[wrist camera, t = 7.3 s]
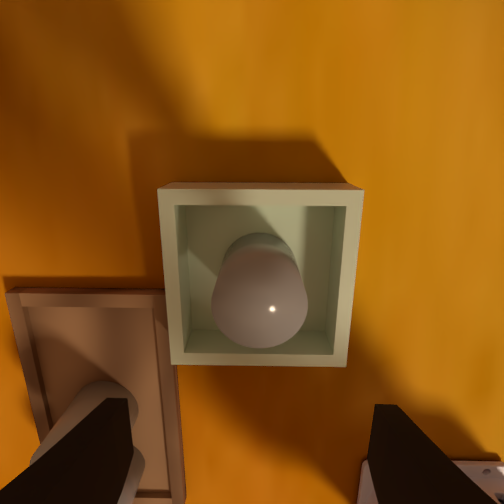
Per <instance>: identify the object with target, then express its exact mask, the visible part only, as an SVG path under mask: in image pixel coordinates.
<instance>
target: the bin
mask: <svg viewBox="0 0 504 504" xmlns="http://www.w3.org/2000/svg"><path fill="white" fill-rule="evenodd" d="M157 194H158V207H159V219H160V231H161V244H162V256H163V269H164V281H165V293H166V306H167V318H168V331H169V343H170V355H171V365H237V366H306V367H346V363H347V354H348V344H349V334H350V324H351V315H352V305H353V295H354V285H355V276H356V266H357V256H358V246H359V237H360V227H361V217H362V207H363V198H364V190H363V189H361V188H358V187H356V186H354V185H352V184H349V183H270V182H171V183H169V184H167V185H165V186H162V187H160V188H158V189H157ZM250 233H268V234H272V235H274V236H277V237H278V238H280V239H282V240H283V241H284V242H285V243H286V244H287V245H288V246H289V247H290V248H291V250H292V252H293V254H294V256H295V259H296V263H297V266H298V269H299V272H300V275H301V278H302V281H303V285H304V288H305V291H306V295H307V300H308V310H307V315H306V318H305V321H304V323H303V325H302V326H301V328H300V329H299V331H298V332H297V333H296V334H295V335H294V336H293V337H292V338H290V339H289V340H287V341H286V342H284V343H282V344H280V345H277V346H274V347H270V348H250V347H245V346H242V345H240V344H237V343H235V342H233V341H232V340H230V339H229V338H228V337H226V336H225V335H224V334H223V333H222V332H221V331H220V329H219V328H218V326H217V325H216V323H215V321H214V318H213V315H212V310H211V298H212V294H213V290H214V287H215V284H216V281H217V277H218V274H219V271H220V268H221V265H222V261H223V258H224V255H225V253H226V251H227V249H228V248H229V247H230V245H231V244H232V243H233V242H234V241H236V240H237V239H238V238H240V237H242V236H244V235H247V234H250Z"/></svg>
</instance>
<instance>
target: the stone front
mask: <svg viewBox="0 0 504 504" xmlns="http://www.w3.org/2000/svg"><path fill="white" fill-rule="evenodd" d="M211 310H212V315H213V318H214V321H215V323H216V325H217V326H218V328H219V329H220V331H221V332H222V333H223V334H224V335H225V336H226V337H228V338H229V339H230V340H232V341H233V342H235V343H237V344H240V345H242V346H245V347H250V348H270V347H274V346H277V345H280V344H282V343H284V342H286V341H287V340H289V339H290V338H292V337H293V336H294V335H295V334H296V333H297V332H298V331H299V329H300V328H301V326H302V325H303V323H304V321H305V318H306V315H307V310H308V300H307V295H306V291H305V288H304V285H303V281H302V278H301V275H300V272H299V269H298V266H297V263H296V259H295V256H294V254H293V252H292V250H291V248H290V247H289V246H288V245H287V244H286V243H285V242H284V241H283V240H282V239H280V238H278V237H277V236H274V235H272V234H268V233H250V234H247V235H244V236H242V237H240V238H238V239H237V240H236V241H234V242H233V243H232V244H231V245H230V247H229V248H228V249H227V251H226V253H225V255H224V258H223V261H222V265H221V268H220V271H219V274H218V277H217V281H216V284H215V287H214V290H213V294H212V298H211Z"/></svg>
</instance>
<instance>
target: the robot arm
mask: <svg viewBox="0 0 504 504" xmlns="http://www.w3.org/2000/svg"><path fill="white" fill-rule="evenodd" d="M133 454H134V449H133V441H132V432H131V424H130V415H129V407H128V399H127V398H106V399H105V400H104V401H102V402H101V403H100V404H99V405H98V406H97V407H96V408H95V409H94V410H92V411H91V412H90V413H89V414H88V415H87V416H86V417H85V418H84V419H83V420H81V421H80V422H79V423H78V424H77V425H76V426H75V427H74V428H73V429H72V430H70V431H69V432H68V433H67V434H66V435H65V436H64V437H63V438H62V439H60V440H59V441H58V442H57V443H56V444H55V445H54V446H52V447H51V448H50V449H49V450H48V451H47V452H46V453H44V454H43V455H42V456H41V457H40V458H39V459H38V460H36V461H35V462H34V463H33V464H32V465H30V466H29V467H28V468H27V469H26V470H24V471H23V472H22V473H21V474H19V475H18V476H17V477H16V478H15V479H13V480H12V481H11V482H10V483H9V484H7V485H6V486H5V487H4V488H2V489H1V490H0V504H117V503H118V500H119V498H120V496H121V493H122V490H123V487H124V484H125V481H126V478H127V475H128V471H129V468H130V465H131V461H132V458H133ZM357 504H504V462H500V461H451V460H450V459H449V458H448V457H447V456H446V455H445V454H444V453H443V452H442V451H441V450H440V449H439V448H438V447H437V446H436V445H435V444H434V443H433V442H432V441H431V440H430V439H429V438H428V437H427V436H426V435H425V434H424V433H423V431H422V430H421V429H420V428H419V427H418V426H417V425H416V424H415V423H414V422H413V421H412V420H411V419H410V418H409V417H408V416H407V415H406V414H405V413H404V412H403V411H402V410H401V409H400V408H399V407H398V406H397V405H387V404H375V408H374V415H373V422H372V429H371V435H370V442H369V449H368V456H367V460H365V461H364V462H363V463H362V468H361V476H360V483H359V491H358V498H357Z"/></svg>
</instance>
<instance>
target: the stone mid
mask: <svg viewBox="0 0 504 504" xmlns="http://www.w3.org/2000/svg"><path fill="white" fill-rule="evenodd" d="M106 398H127V399H128V407H129V415H130V424H131V431H132V429H133V426H134V424H135V422H136V420H137V417H138V413H139V407H138V403H137V401H136V399H135V397H134V396H133V395H132V393H131V392H130V391H128V390H127V389H126V388H124V387H123V386H121V385H119V384H117V383H113V382H109V381H96V382H92V383H89V384H87V385H85V386H84V387H83V388H81V390H80V391H79V392H78V393H77V395H76V396H75V398H74V399H73V400H72V402H71V403H70V405H69V406H68V407H67V409H66V410H65V411H64V413H63V414H62V416H61V417H60V418H59V420H58V421H57V422H56V424H55V425H54V427H53V428H52V429H51V431H50V432H49V434H48V435H47V436H46V438H45V439H44V440H43V442H42V443H41V445H40V446H39V447H38V449H37V450H36V451H35V453H34V454H33V456H32V458H31V460H30V465H32V464H33V463H34V462H35V461H36V460H38V459H39V458H40V457H41V456H42V455H43V454H44V453H46V452H47V451H48V450H49V449H50V448H51V447H52V446H54V445H55V444H56V443H57V442H58V441H59V440H60V439H62V438H63V437H64V436H65V435H66V434H67V433H68V432H69V431H70V430H72V429H73V428H74V427H75V426H76V425H77V424H78V423H79V422H80V421H81V420H83V419H84V418H85V417H86V416H87V415H88V414H89V413H90V412H91V411H92V410H94V409H95V408H96V407H97V406H98V405H99V404H100V403H101V402H102V401H104V400H105V399H106Z"/></svg>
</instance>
